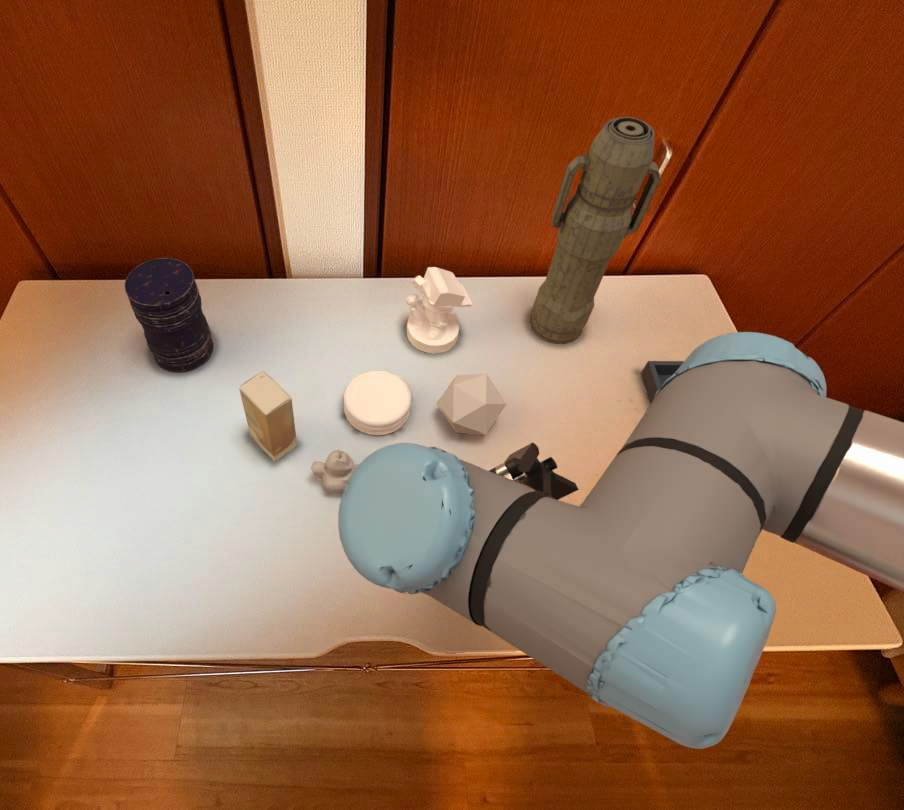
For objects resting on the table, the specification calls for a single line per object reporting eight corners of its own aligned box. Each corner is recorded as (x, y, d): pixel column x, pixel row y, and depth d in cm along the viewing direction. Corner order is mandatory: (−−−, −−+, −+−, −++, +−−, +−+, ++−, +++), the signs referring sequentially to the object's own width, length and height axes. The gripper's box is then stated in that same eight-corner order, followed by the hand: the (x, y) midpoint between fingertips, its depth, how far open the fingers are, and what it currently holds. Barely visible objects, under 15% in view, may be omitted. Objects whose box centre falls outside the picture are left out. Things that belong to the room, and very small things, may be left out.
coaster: (423, 412, 92) (425, 399, 90) (373, 448, 89) (373, 435, 86) (380, 372, 97) (381, 358, 94) (330, 405, 93) (329, 391, 90)
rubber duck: (357, 500, 84) (356, 471, 77) (309, 495, 84) (305, 466, 78) (361, 466, 87) (361, 435, 81) (315, 461, 87) (311, 431, 81)
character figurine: (399, 319, 104) (404, 265, 94) (452, 308, 105) (462, 254, 95) (416, 358, 99) (422, 304, 89) (471, 346, 100) (483, 293, 90)
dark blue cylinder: (143, 342, 100) (113, 273, 88) (198, 318, 103) (177, 248, 91) (167, 383, 95) (139, 316, 83) (224, 356, 99) (205, 288, 86)
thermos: (597, 344, 101) (691, 148, 72) (525, 344, 100) (591, 148, 72) (585, 305, 106) (669, 107, 77) (517, 305, 106) (575, 107, 77)
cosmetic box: (249, 435, 90) (235, 385, 80) (272, 419, 92) (262, 367, 82) (276, 464, 87) (265, 415, 77) (299, 446, 89) (292, 396, 79)
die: (481, 391, 96) (449, 354, 90) (525, 406, 89) (493, 367, 83) (451, 435, 95) (416, 400, 88) (493, 454, 88) (458, 418, 81)
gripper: (407, 412, 50) (510, 460, 66) (535, 751, 38) (622, 706, 54) (486, 363, 47) (573, 426, 63) (651, 716, 35) (706, 680, 51)
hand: (596, 556), depth 59 cm, fingers open, 13 cm apart
